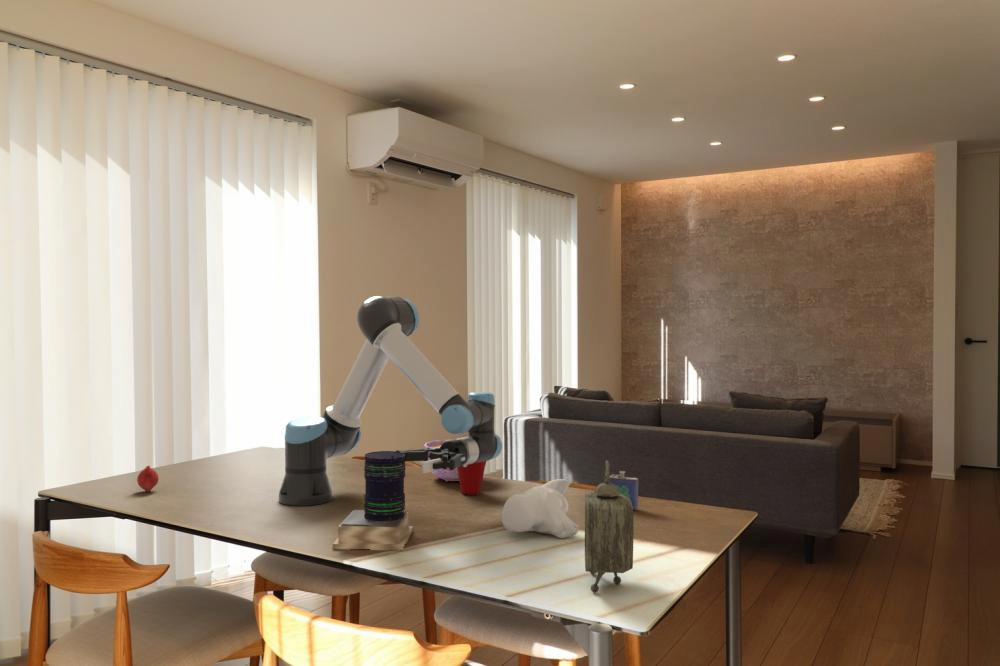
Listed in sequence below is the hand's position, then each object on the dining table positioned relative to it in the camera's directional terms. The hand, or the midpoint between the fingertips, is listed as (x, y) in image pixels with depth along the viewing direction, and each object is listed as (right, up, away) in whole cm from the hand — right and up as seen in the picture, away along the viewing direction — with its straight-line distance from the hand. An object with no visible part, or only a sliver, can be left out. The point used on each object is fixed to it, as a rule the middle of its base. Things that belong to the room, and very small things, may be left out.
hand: (402, 464), depth 188 cm
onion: (-82, -15, +39) cm, 92 cm away
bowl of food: (+9, -16, +61) cm, 64 cm away
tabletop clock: (+46, -18, -35) cm, 61 cm away
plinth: (-6, -17, -7) cm, 19 cm away
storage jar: (-3, -12, -6) cm, 14 cm away
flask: (+59, -17, +25) cm, 66 cm away
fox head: (+37, -17, +1) cm, 41 cm away
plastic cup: (+15, -16, +42) cm, 48 cm away
